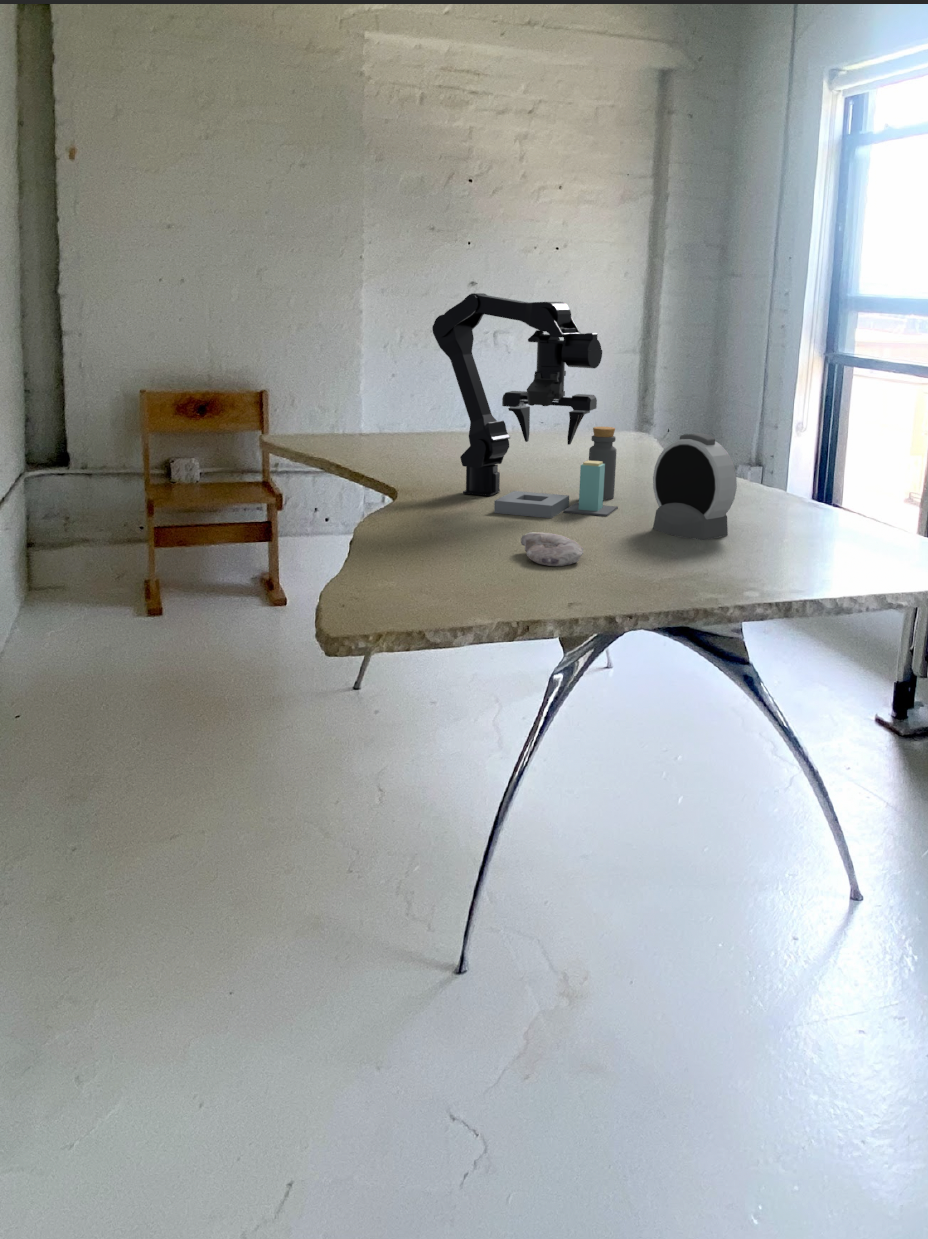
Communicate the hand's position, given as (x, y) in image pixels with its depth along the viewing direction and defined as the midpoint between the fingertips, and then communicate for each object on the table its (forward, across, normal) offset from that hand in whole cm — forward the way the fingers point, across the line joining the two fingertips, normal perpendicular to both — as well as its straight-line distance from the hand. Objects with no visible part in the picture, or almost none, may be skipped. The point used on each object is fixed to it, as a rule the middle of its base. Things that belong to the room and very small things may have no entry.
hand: (547, 443), depth 221 cm
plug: (+12, +11, -4) cm, 17 cm away
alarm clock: (+13, +33, -15) cm, 39 cm away
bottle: (+13, +9, +11) cm, 19 cm away
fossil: (+13, +16, -46) cm, 51 cm away
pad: (+12, +11, -4) cm, 17 cm away
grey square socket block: (+12, 0, -9) cm, 15 cm away
